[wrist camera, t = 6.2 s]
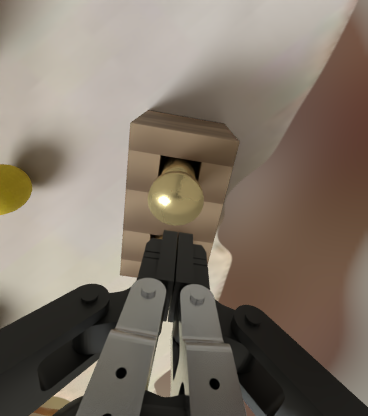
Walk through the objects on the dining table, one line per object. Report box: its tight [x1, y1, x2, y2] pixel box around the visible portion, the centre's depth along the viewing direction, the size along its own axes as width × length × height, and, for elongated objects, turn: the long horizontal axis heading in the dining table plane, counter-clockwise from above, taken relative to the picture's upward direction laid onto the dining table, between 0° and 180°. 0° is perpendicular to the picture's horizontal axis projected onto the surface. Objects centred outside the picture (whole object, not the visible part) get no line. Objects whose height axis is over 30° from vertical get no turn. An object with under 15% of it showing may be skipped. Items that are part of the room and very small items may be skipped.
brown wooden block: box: [120, 110, 239, 277], centre depth 29 cm, size 16×9×10 cm, turn 171°
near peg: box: [148, 156, 204, 226], centre depth 22 cm, size 4×4×10 cm
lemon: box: [0, 164, 32, 215], centre depth 30 cm, size 6×6×8 cm
